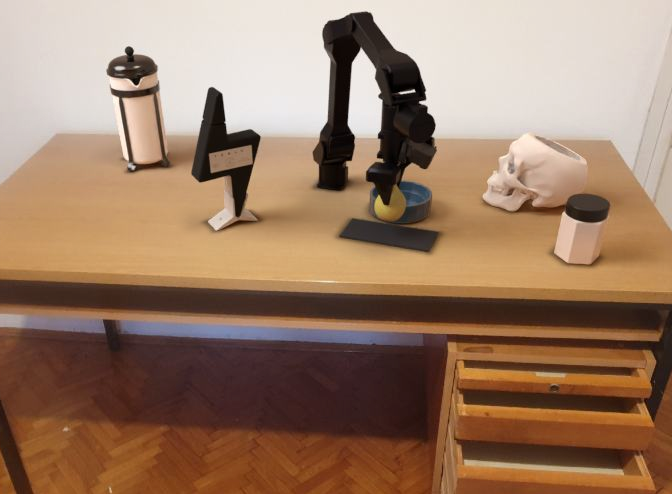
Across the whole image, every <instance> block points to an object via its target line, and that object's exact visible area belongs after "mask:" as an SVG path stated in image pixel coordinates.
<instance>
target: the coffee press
mask: <svg viewBox="0 0 672 494" xmlns="http://www.w3.org/2000/svg"><path fill="white" fill-rule="evenodd" d="M124 53H125V54H124V55H119V56H117V57H114V58H113V59H111V60H110V61H109V63H108V64H107V68H106V70H105V71H106V75H107V77H108V80H109V90H110V94H111V95H112V101H113V107H114V112H115V113H114V114H115V118H116V124H117V129H118V134H119V140H120V145H121V150H122V155H123V158H124V159H125V161H127V171H128V172H132V173H133V172H135V170H136V168H137V166H138V165H149V164H154V163H160V164H161V165H162V166H163V167H164V168H167V167H169V166H171V161H170V160H169V159H168V157H167V155H168V153H169V151H168V142H167V135H166V128H165V120H164V114H163V113H164V112H163V106H162V100H161V92H160V90H161V85H160V80H159V79H158V78H159V77H158V71H159V66H158V64H156V62H155V61H154V59H153V58H151V57H150V56H148V55H145V54H139V53H138V54H136V53H135V49H134V47H132V46H126V47H125V48H124Z"/></svg>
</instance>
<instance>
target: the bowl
mask: <svg viewBox="0 0 672 494" xmlns="http://www.w3.org/2000/svg"><path fill="white" fill-rule="evenodd" d="M399 190H400V191H401V192H402V194H403V195H404V197H405V199H406V208H405V211H404V213H403V215H402V216H401V217H400V218H399V219H397V220H395V221H386V220H382V219H380V218H379V217H378V216H377V215H376V213H375V201H376V199H377V197H378V195H379V193H378V191H377V189H376V187H375V185H374V186H372V187H371V188H370V190H369V202H368V203H369V207H368V208H369V209H368V210H369V212H370V215H372V216H373V217H374V218H376V219H378V220H380V221H383V222H387V223H393V224H409V223H410V224H411V223H417V222H419V221H422V220H424V219H426V218H427V217H429V216H430V214H431V212H432V204H433V192H432V190H431V189H430V188H429V187H428V186H426V185H424V184H422V183H419V182H416V181H410V180H401V184H400V187H399Z"/></svg>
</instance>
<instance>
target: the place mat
mask: <svg viewBox="0 0 672 494" xmlns="http://www.w3.org/2000/svg"><path fill="white" fill-rule="evenodd" d="M438 235H439V231H436V230H429V229H424V228H418V227H417V228H416V227H411V226H403V225H398V224H392V223H386V222H385V223H384V222H379V221H373V220H366V219H360V218H354V217H352V218H351V219H350V221H349V222H348V224H347V225H346V226H345V227H344V228H343V230H342V231H341V233H340V234H339V238H343V239H348V240H354V241H361V242H367V243H371V244H372V243H373V244H379V245H383V246H384V245H385V246H390V247H395V248H396V247H397V248H402V249H408V250H413V251H420V252H425V253H429V252H430V251H431V248H432V246H433V245H434V243H435V241H436V239H437V237H438Z"/></svg>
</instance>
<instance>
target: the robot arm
mask: <svg viewBox="0 0 672 494" xmlns="http://www.w3.org/2000/svg"><path fill="white" fill-rule="evenodd" d="M321 32H322V33H321V35H322V41H323V49H324V51H325V52H326V54H327V57H328V58H329V63H330V64H329V82H328V102H327V120H326V122H325V124H324V126H323V127H322V128H321V130H320V132H319V139H318V143H317V144H316V145H315V146H314V149H313V150H312V158H313V162H315V163H316V164H317V165H318V183H316V188H321V189H328V190H335V191H342V190H343V188H344V187H345V186H346V185H347V183H348V182H349V166H348V165H347V162H352V161H353V157H354V152H355V148H356V143H355V140H356V136H355V133H353V131H352V129H351V128H350V126H349V114H350V113H349V112H350V101H351V100H350V98H351V87H352V86H351V85H352V71H353V70H352V69H353V62H354V61H355V60H356V58H357V57H358V55H359V53H360V52H361V50H362V51H363V53H364V54H365V56H366V57H367V58H368V60H369V61H370V63H372V65H373V68H374V70H375V74H374V80H375V82H376V83H377V86H378V89H379V91H380V92H379V94H377V95H378V96H377V97H378V99H380V100H382V101H381V117H380V118H381V120H380V131H379V132H378V133H377V140H380V141H379V150H378V151H377V153H376V159H379V160H382V161H374V162H373V163H372V164H371V165H370V166H369V167H368V169H367V170H366V171H365V181H366V182H367V183H372V184H373V185H374V186H375V187H376V189H377V191H378V193H379V195H380V198H381V200H382V202H383V204H384V205H387V206H388V205H389V203H390V200H391V195H392V191H393V187H394V185H396V184H397V187H398V188H399V187H400V184H401V181H403V177H404V174H405V171H406V168H408V167H409V166H410V165H412V164H414V165H415V166H418V168H419V169H421V170H427V169H428V168H429V167H430V165H431V163H432V162H433V160H434V157H435V156H436V154H437V152H438V149H437V148H438V147H437V146H436V141H435V139H436V138H435V137H434V136H433V135H434V133H435V131H436V126H437V124H436V120H435V117H434V116H433V115H432V114H431V113H429V111H428V110H429V107H428V105H426V104H424V103H423V104H422V103H421V102H426V101H427V93H426V91H427V88H426V86H425V84H424V83H425V82H424V80H423V78H422V74H421V70H420V67H419V65H418V63H417V62H416V61H415V60H414V59H413V58H412V57H411V56H410V55H408V54H407V53H405V52H402V51H399V50H397V49H396V48H395V47H394V46H393V45H392V43H391V42H390V40H389V39H388V38H387V36H386V35H385V34H384V33H383V31H382V30H381V29H380V27H379V26H378V24H377V23H376V22H375V20H374V16H373V13H372V12H371V11H366V10H365V11H358V12H356V11H355V12H350V13H348V14H346V15H345V16H344V17H341V18H336V19H329V20H328V21H327V22H326V23H324V26H323V27H322V31H321ZM411 91H413V92H411ZM405 92H406V93H405Z"/></svg>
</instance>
